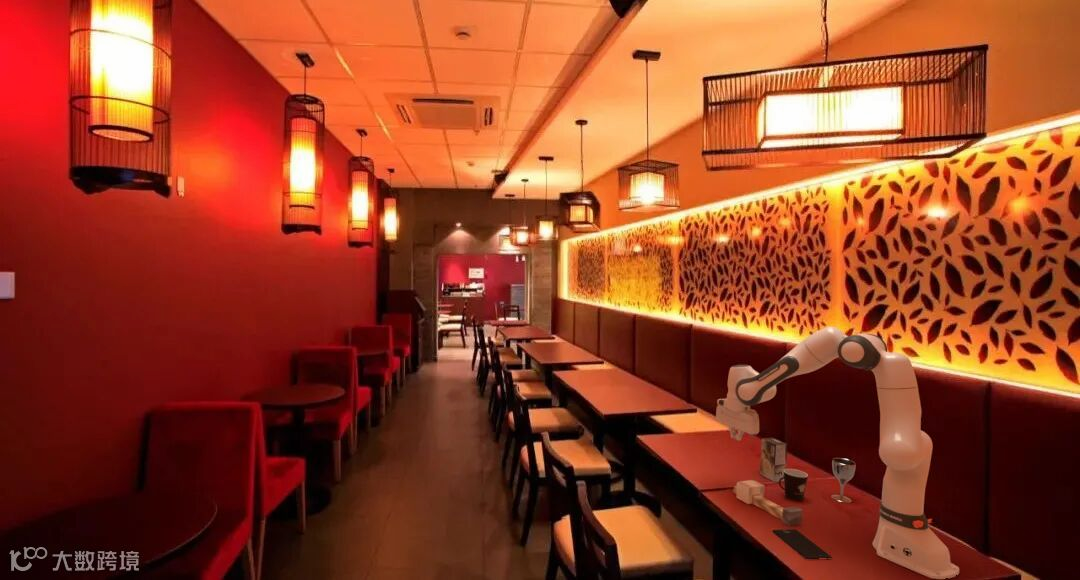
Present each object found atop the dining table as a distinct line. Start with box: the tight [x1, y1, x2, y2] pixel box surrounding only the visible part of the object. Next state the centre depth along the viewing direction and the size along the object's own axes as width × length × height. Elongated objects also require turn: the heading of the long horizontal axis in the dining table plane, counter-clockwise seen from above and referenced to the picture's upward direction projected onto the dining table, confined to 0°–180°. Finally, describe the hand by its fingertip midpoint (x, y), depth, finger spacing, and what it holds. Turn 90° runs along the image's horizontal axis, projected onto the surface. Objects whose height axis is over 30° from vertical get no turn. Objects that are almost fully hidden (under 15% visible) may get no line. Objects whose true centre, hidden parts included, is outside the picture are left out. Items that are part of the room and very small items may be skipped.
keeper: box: [735, 479, 765, 505], centre depth 203 cm, size 6×8×6 cm
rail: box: [733, 484, 803, 527], centre depth 196 cm, size 28×6×5 cm, turn 23°
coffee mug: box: [778, 468, 809, 503], centre depth 207 cm, size 12×9×10 cm
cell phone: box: [772, 528, 833, 560], centre depth 170 cm, size 9×18×1 cm, turn 9°
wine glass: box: [830, 457, 856, 504], centre depth 209 cm, size 8×8×15 cm
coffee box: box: [759, 437, 788, 483], centre depth 228 cm, size 9×6×16 cm
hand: (735, 438), depth 210 cm, fingers closed
